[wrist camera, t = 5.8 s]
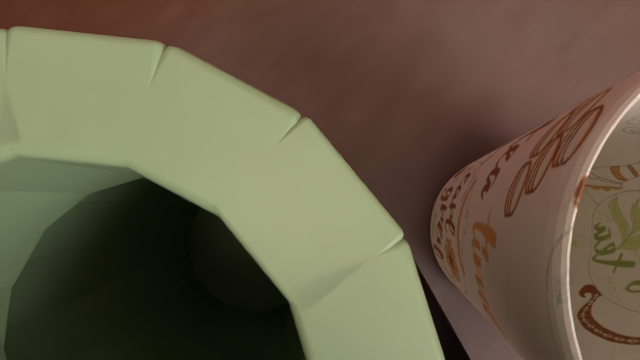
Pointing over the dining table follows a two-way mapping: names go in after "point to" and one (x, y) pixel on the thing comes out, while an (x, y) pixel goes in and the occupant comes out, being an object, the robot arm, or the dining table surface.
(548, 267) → the mug
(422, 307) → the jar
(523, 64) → the dining table surface
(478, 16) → the dining table surface
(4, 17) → the dining table surface
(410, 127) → the dining table surface
